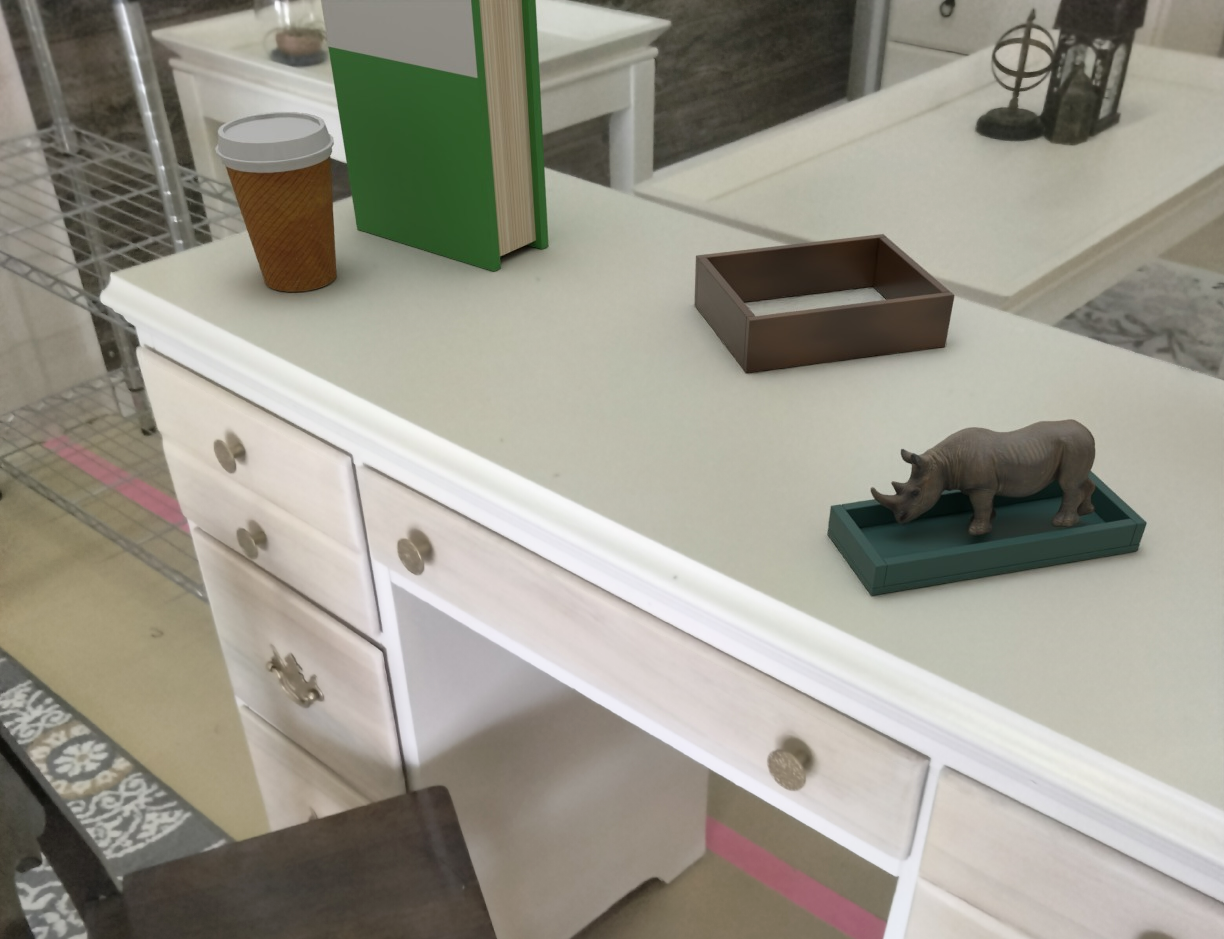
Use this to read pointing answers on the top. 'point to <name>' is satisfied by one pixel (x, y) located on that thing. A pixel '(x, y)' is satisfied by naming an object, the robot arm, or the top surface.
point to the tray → (977, 537)
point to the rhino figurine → (1000, 471)
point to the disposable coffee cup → (284, 195)
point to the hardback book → (442, 122)
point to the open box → (821, 333)
